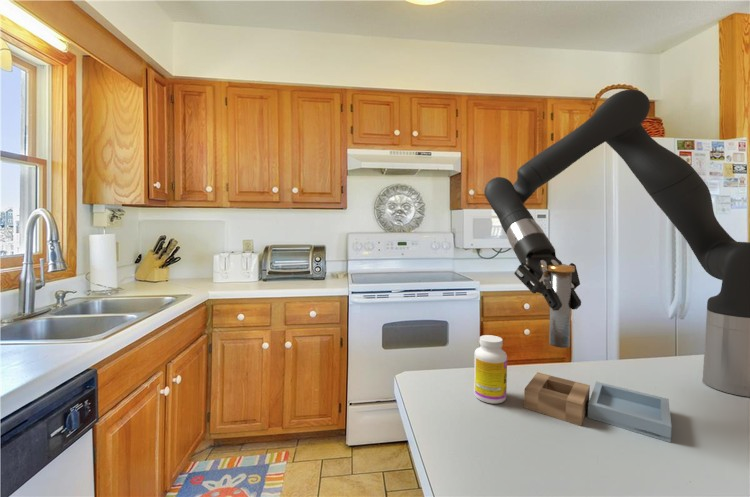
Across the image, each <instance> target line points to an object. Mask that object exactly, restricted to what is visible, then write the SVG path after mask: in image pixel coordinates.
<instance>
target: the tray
mask: <svg viewBox="0 0 750 497" xmlns="http://www.w3.org/2000/svg"><path fill="white" fill-rule="evenodd" d="M587 418H588V419H590V420H594V421H597V422H601V423H604V424H608V425H610V426H611V425H612V426H614V427H618V428H621V429H624V430H628V431H631V432H635V433H637V434H640V435H645V436H647V437H651V438H655V439H657V440H661V441H664V442H668V443H669V444H670V443H671V442H672V419H671V407H670V400H669V398H666V397H663V396H659V395H658V396H657V395H654V394H649V393H645V392H641V391H638V390H633V389H628V388H624V387H621V386H616V385H613V384H609V383H604V382H600V381H595V383H594V386H593V389H592V393H591V395H590V396H589V403H588V409H587Z"/></svg>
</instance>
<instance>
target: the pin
mask: <svg viewBox="0 0 750 497" xmlns="http://www.w3.org/2000/svg"><path fill="white" fill-rule="evenodd" d="M548 271H551V281H550V284H551V287H552V288H551V290H552V289H553V290H554V291H555V293H556V294H557V296H558V298H559V300H560V301H561V303H562V307H561V308H560V309H559V310H557V311H554V310H553V309H552V308H551V307H550V306H549V333H548V334H549V336H548V337H549V338H548V343H549V345H550V346H552V347H554V348H560V349H563V348H564V349H565V348H566V349H567V348H569V347H570V338H571V310H572V309H571V273H572V272H575V266H571V265H570V264H565V265H548Z"/></svg>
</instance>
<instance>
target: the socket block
mask: <svg viewBox="0 0 750 497" xmlns="http://www.w3.org/2000/svg"><path fill="white" fill-rule="evenodd" d="M590 387H591V385H590V384H586V383H581V382H579V381H578V382H577V381H574V380H570V379H565V378H562V377H558V376H554V375H551V374H547V373H543V372H542V373H541V372H536V373H535V374H534V376H533V377H532V378H531V379H530V381H529V382H528V384H527V385H526V386H525V387H524V389H523V390H524V393H523V394H524V395H523V398H524V400H523V408H524V409H527V410H530V411H533V412H536V413H539V414H542V415H545V416H548V417H551V418H554V419H555V418H556V419H558V420H561V421H564V422H567V423H570V424H573V425H577V426H580V427H582V426H583V422H584V420H585V417H586V414H587V412H588V403H589V400H590V391H591V389H590Z"/></svg>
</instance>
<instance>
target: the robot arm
mask: <svg viewBox="0 0 750 497" xmlns="http://www.w3.org/2000/svg"><path fill="white" fill-rule="evenodd" d="M650 108H651V103H650V98H649V97H648V96H647V94H646V93H645V92H643V91H641V90H639V89H624V90H620V91H618V92H616V93H614V94H612V95H611V96H610V97H608V98H607V99H606V100H605V101H603V103H601V104H600V105H599V106H598V107H597V108H596V110H595V111H594V113H593V114H592V116H590V117H589V118H588V119H587V120H586V121H584V122H583V123H582V124H580V125H579V126H578V127H576V128H575V129H574V130H572V131H571V132H569V133H568V134H566V135H565V136H563V137H562V138H561V139H559V140H558V141H556V142H555V143H552V144H551V145H549V146H548V147H546V148H545V149H544V150H541V151H540V152H539V153H537V154H536V155H535V156H533V157H532V158H530V159H529V160H528V161H526V162H525V163H524V164H522V165H521V166H520V167H519V168H518V169H517V171H516V175H517V177H516V181H514V183H512V182H511V180H509V179H508V178H505V177H501V176H498V177H494V178H492V179H490V180H489V181H487V183H486V185H485V187H484V193H483V194H484V196H485V199H486V201H487V202H488V203H489V205H490V207H491V208H492V210H493V211H494V213H495V214H496V217H497V218H498V220H499V222H500V226H501V228H502V229H503V232H504V233H505V234H506V237H507V240H508V243H509V245H510V247H511V248H512V250H513V252H514V254H515V256H516V257H517V260H518V261H519V263H520V264H519V265H518V267H517V268H516V270H515V272H514V273H513V274H514V275H515V276H516V278H517V279H518V280H519V281H520V282H521V283H522V284H523V285H524V286H525V287H526V288H527V289H528V290H529V291H530V292H531V293H533V294H536V293H538V294H540V295H541V296H543V297H544V299H545V301H546V303H547V305H548V307H549V308H550V307H551V308H552V309H553V310H554V311H557V310H559V309H560V308H561V307H562V303H561V301H560V300H559V298H558V296H557V294H556V293H555V291H554V290H553V289H552V290H551V288H552V287H551V271H548V265H566V263H565V264H564V263H563V262H562V261H561V260H560V259H559V258H558V257H557V255H556V249H555V247H554V245H553V244H552V243H551V241H550V239H549V238H548V236H547V235H546V233H545V232H544V230H543V229H542V227H541V226H540V225H539V224H538V223H537V221H536V220H535V218H534V217H533V215H532V214H531V212H530V211H529V209H528V208H527V207H526V205H525V203H526V202H527V201H528V200H529V198H530V197H531V196H533V195H534V193H535V192H536V191H537V189H539V188H541V187H542V186H544V185H545V184H546V183H549V181H551V180H553V179H554V178H555V177H557V176H558V175H560V174H561V173H562V172H565V170H566V169H568V168H569V167H571V166H572V165H573V164H574V163H576V162H577V161H579V160H580V159H581V158H583V157H584V156H586V154H588V153H590V152H591V151H593V150H594V149H596V148H598V147H599V146H600V145H602V144H604V143H606V144H608V146H609V147H610V148H611V149H612V150H614V152H615V153H617V155H618V156H619V157H620V158H621V159H622V161H624V163H625V164H626V166H627V167H628V168H629V170H631V172H632V174H633V175H634V176H635V178H636V179H637V180H638V181H639V183H640V184H641V185H642V187H643V188H644V190H645V191H646V192H647V194H648V195H649V196H650V198H652V200H653V201H654V203H655V204H656V205H657V206H658V207H659V209H660V210H661V211H662V213H664V214H665V216H666V217H667V218H668V220H669V221H670V222H671V224H673V226H674V227H675V228H676V229H677V230H678V231H679V233H680V234H681V236H682V237H683V238H684V239H685V241H686V243H687V245H688V246H689V247H690V249H691V250H692V252H693V254H694V255H695V258H696V259H697V261H698V263H699V264H700V265H701V267H702V268H703V270H704V271H705V272H706V273H707V274H708V275H710V276H711V277H713V278H714V279H717V280H720V281H721V287H720V292H719V293H718V294H717V295H714V296H711V297H709V298H708V299H707V304H706V316H705V318H706V322H705V338H704V352H703V354H704V355H703V363H702V365H703V369H702V382H703V383H704V384H705V385H706V386H708V387H711V388H713V389H715V390H717V391H720V392H724V393H728V394H731V395H736V396H742V397H748V398H749V397H750V241H749V242H748V241H737V240H735V239H734V238H733V237H732V236H731V235H730V234H729V233H728V232H727V231H726V230H725V229H724V227H723V226H722V225H721V224H720V222H719V221H718V220H717V218H716V215H715V212H714V211H715V210H714V205H713V199H712V195H711V192H710V189H709V186H708V185H707V183H706V182H705V181H704V179H703V178H702V177H701V176H700V175H699V173H698V172H697V171H696V170H695V168H694V167H693V166H692V165H691V164H690V163H689V162H688V161H686V160H685V159H684V158H682V157H681V156H680V155H678V154H676V153H674V152H673V151H671V150H670V149H668V148H666V147H664V146H663V145H661V144H660V143H658V141H656V140H655V139H654V138H653V137H651V135H650V134H649V132H647V130H646V129H645V127H644V126H643V125H642V123H643V122H644V121H645V120H646V118H647V117H648V114H649V113H650ZM569 265H571V266H575V272H572V273H571V309H570V310H573V311H574V310H577V309H578V308H580V307H581V306H582V299H580V297H579V295H578V294H577V292H576V291H575V290H576V289H577V288H578V287H579V286H580V285H581V282H580V278H579V273H578V269H577V266H576V264H575V263H573V262H571V263H570V264H569Z"/></svg>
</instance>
